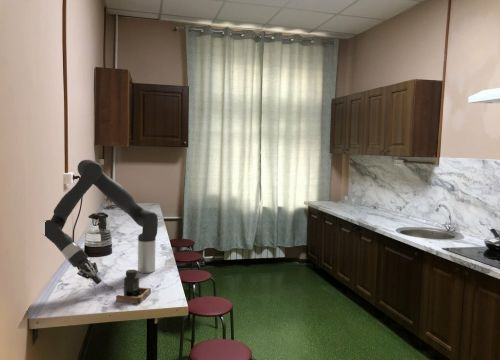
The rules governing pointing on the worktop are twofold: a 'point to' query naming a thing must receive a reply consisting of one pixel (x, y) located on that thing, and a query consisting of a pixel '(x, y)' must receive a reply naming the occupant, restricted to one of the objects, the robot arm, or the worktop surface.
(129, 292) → the supplement bottle
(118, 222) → the worktop surface
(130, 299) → the walnut frame
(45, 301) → the worktop surface
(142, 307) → the worktop surface
